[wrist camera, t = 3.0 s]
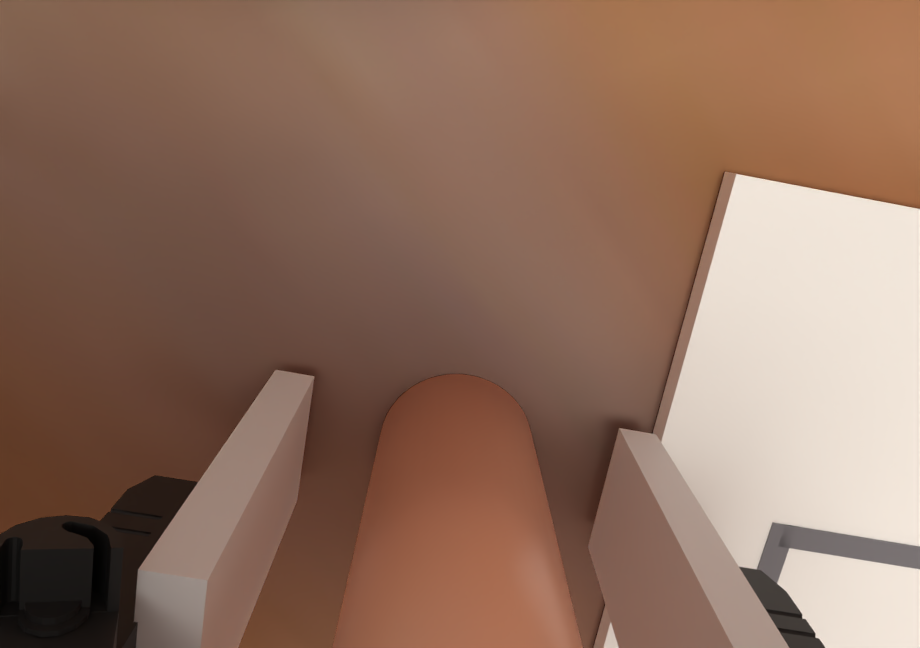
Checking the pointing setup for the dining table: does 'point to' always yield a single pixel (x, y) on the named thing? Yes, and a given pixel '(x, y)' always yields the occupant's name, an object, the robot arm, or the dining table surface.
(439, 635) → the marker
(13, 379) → the dining table surface
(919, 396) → the sheet
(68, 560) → the robot arm
